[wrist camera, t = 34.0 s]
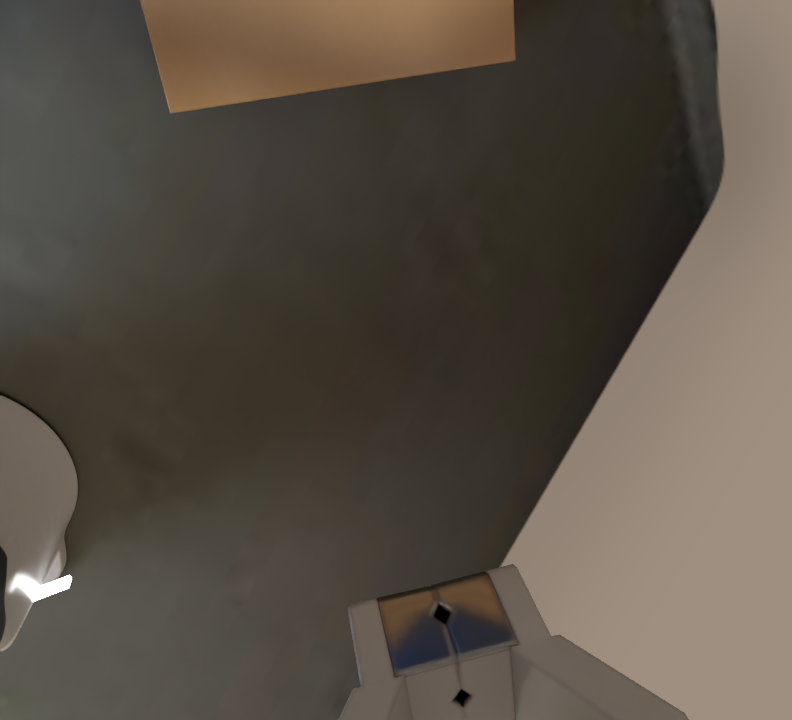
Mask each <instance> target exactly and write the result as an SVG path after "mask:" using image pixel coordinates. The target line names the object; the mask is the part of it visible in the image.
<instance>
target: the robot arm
mask: <svg viewBox="0 0 792 720" xmlns="http://www.w3.org/2000/svg"><path fill="white" fill-rule="evenodd" d="M77 496H78V480H77V474H76V470H75V466H74V464H73V461H72V459H71V456H70V454H69V452H68V451H67V449H66V447H65V446H64V444H63V443H62V441H61V440H60V438H59V437H58V436H57V435H56V433H55V432H54V431H53V430H52V429H51V428H50V427H49V426H48V425H47V424H46V423H45V422H44V421H42V420H41V419H40V418H39V417H38V416H36V415H35V414H34V413H32V412H31V411H29V410H28V409H26V408H25V407H23V406H22V405H20V404H18V403H16V402H14V401H12V400H10V399H8V398H6V397H4V396H2V395H0V651H4V650H6V649H7V648H8V647H9V646H10V645H11V644H12V643H13V641H14V639H15V638H16V636H17V634H18V632H19V630H20V628H21V626H22V624H23V622H24V620H25V618H26V616H27V614H28V612H29V610H30V608H31V606H32V604H33V602H34V601H37V600H39V599H42V598H44V597H47V596H50V595H52V594H55V593H58V592H60V591H63V590H66V589H68V588H69V586H70V583H71V580H72V577H71V576H70V575H68V576H65V577H63V578H60V579H58V578H59V577H60V575H61V573H62V571H63V569H64V567H65V565H66V559H67V556H66V546H65V540H64V535H65V531H66V528H67V525H68V523H69V521H70V519H71V517H72V514H73V512H74V509H75V506H76V502H77ZM377 601H378V602H377ZM348 614H349V620H350V626H351V632H352V637H353V643H354V649H355V655H356V660H357V666H358V672H359V678H360V684H361V687H358V688H354V689H352V691H351V693H350V696H349V698H348V700H347V702H346V704H345V707H344V709H343V711H342V713H341V715H340V717H339V720H689V719H688V718H687V716H686V715H685V713H684V712H682V711H680V710H679V709H677V708H676V707H674V706H672V705H671V704H669V703H668V702H666V701H665V700H663V699H661V698H660V697H658V696H657V695H655V694H653V693H652V692H650V691H649V690H647V689H645V688H644V687H642V686H641V685H639V684H637V683H635V682H634V681H633V680H631V679H629V678H628V677H626V676H625V675H623V674H622V673H620V672H618V671H617V670H615V669H614V668H612V667H610V666H609V665H607V664H606V663H604V662H602V661H601V660H599V659H598V658H596V657H594V656H593V655H591V654H589V653H588V652H586V651H585V650H583V649H582V648H580V647H578V646H577V645H575V644H574V643H572V642H571V641H569V640H567V639H566V638H564V637H562V636H561V635H556V636H551V635H550V633H549V631H548V629H547V627H546V625H545V623H544V621H543V619H542V617H541V615H540V613H539V611H538V609H537V607H536V605H535V603H534V601H533V599H532V597H531V595H530V593H529V591H528V589H527V587H526V585H525V583H524V581H523V579H522V577H521V575H520V573H519V571H518V569H517V567H515V566H514V565H513V564H512V565H508V566H504V567H500V568H496V569H492V570H488V571H486V572H484V571H483V572H480V573H476V574H472V575H468V576H464V577H460V578H457V579H453V580H449V581H445V582H441V583H437V584H434V585H431V586H428V587H424V588H419V589H415V590H410V591H406V592H401V593H397V594H392V595H388V596H383V597H379V598H377V599H372V600H367V601H363V602H359V603H354V604H350V605H348Z"/></svg>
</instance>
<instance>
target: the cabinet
mask: <svg viewBox="0 0 792 720" xmlns="http://www.w3.org/2000/svg"><path fill="white" fill-rule="evenodd" d="M140 2H141V6H142V9H143V13H144V17H145V21H146V24H147V28H148V32H149V36H150V39H151V43H152V47H153V51H154V54H155V58H156V62H157V66H158V69H159V73H160V77H161V81H162V84H163V88H164V92H165V96H166V99H167V103H168V107H169V111H170V113H177V112H184V111H191V110H197V109H204V108H210V107H217V106H223V105H230V104H236V103H243V102H249V101H256V100H263V99H269V98H276V97H282V96H289V95H295V94H302V93H308V92H315V91H321V90H328V89H335V88H341V87H348V86H354V85H361V84H367V83H374V82H380V81H387V80H393V79H400V78H407V77H413V76H420V75H426V74H433V73H439V72H446V71H452V70H459V69H465V68H472V67H479V66H485V65H492V64H498V63H505V62H511V61H515V59H516V56H515V27H514V0H140Z"/></svg>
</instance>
